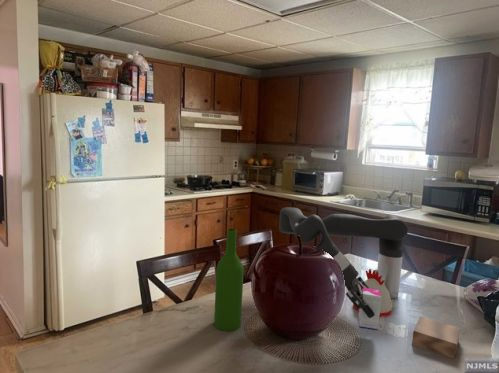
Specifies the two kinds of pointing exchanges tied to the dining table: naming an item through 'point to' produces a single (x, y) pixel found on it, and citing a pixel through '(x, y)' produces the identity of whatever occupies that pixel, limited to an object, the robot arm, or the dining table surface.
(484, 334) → the dining table surface
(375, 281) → the kitchen timer
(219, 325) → the wine bottle
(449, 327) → the walnut block
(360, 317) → the supplement box
